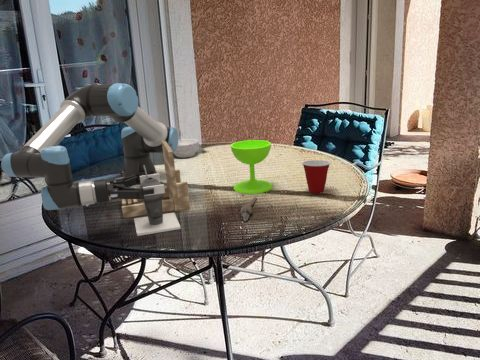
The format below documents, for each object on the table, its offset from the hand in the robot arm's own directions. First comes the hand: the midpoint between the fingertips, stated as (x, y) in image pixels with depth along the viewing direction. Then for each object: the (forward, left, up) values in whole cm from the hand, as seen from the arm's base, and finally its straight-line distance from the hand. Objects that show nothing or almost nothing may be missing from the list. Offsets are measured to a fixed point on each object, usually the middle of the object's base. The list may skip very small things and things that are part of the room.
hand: (161, 182), depth 151 cm
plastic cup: (+44, +41, -14) cm, 61 cm away
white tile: (-3, -2, -14) cm, 15 cm away
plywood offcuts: (-20, +10, -14) cm, 27 cm away
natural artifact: (+25, +17, -15) cm, 33 cm away
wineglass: (+18, +42, -14) cm, 47 cm away
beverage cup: (-3, -2, -14) cm, 14 cm away
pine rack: (-13, +15, -14) cm, 25 cm away
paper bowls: (-35, +90, -15) cm, 97 cm away
